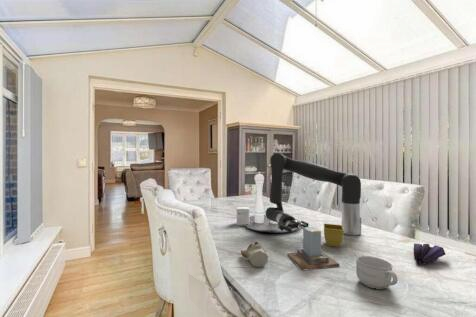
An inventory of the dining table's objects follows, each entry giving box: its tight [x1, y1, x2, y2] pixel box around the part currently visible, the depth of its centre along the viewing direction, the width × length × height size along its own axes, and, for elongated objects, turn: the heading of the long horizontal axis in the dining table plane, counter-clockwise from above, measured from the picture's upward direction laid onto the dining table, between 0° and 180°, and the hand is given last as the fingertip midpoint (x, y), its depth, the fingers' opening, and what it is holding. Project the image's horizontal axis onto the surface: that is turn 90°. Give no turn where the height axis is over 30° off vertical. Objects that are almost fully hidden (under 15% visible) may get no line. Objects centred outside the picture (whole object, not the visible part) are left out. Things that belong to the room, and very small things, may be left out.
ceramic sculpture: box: [240, 241, 269, 268], centre depth 101 cm, size 11×9×15 cm
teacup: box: [355, 255, 399, 290], centre depth 81 cm, size 14×11×8 cm
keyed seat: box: [286, 248, 340, 271], centre depth 102 cm, size 16×14×3 cm
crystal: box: [412, 242, 446, 266], centre depth 103 cm, size 7×12×20 cm
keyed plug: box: [302, 226, 322, 258], centre depth 102 cm, size 4×6×12 cm
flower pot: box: [323, 223, 344, 248], centre depth 119 cm, size 9×9×9 cm
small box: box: [236, 206, 251, 226], centre depth 155 cm, size 8×6×10 cm
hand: (299, 230), depth 113 cm, fingers open, 8 cm apart
